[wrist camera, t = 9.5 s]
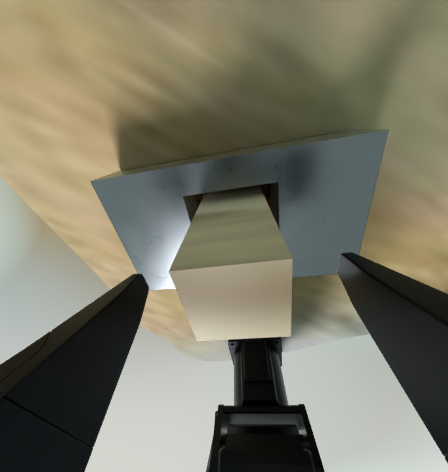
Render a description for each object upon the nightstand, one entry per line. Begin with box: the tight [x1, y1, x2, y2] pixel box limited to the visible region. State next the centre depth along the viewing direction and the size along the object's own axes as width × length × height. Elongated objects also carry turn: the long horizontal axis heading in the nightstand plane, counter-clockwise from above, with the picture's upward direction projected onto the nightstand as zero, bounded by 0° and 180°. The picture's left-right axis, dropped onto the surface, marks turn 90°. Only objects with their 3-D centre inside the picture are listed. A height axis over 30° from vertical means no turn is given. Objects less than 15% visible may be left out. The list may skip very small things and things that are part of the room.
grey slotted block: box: [90, 130, 388, 290], centre depth 13 cm, size 9×16×3 cm, turn 99°
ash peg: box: [169, 185, 292, 341], centre depth 11 cm, size 4×4×9 cm
